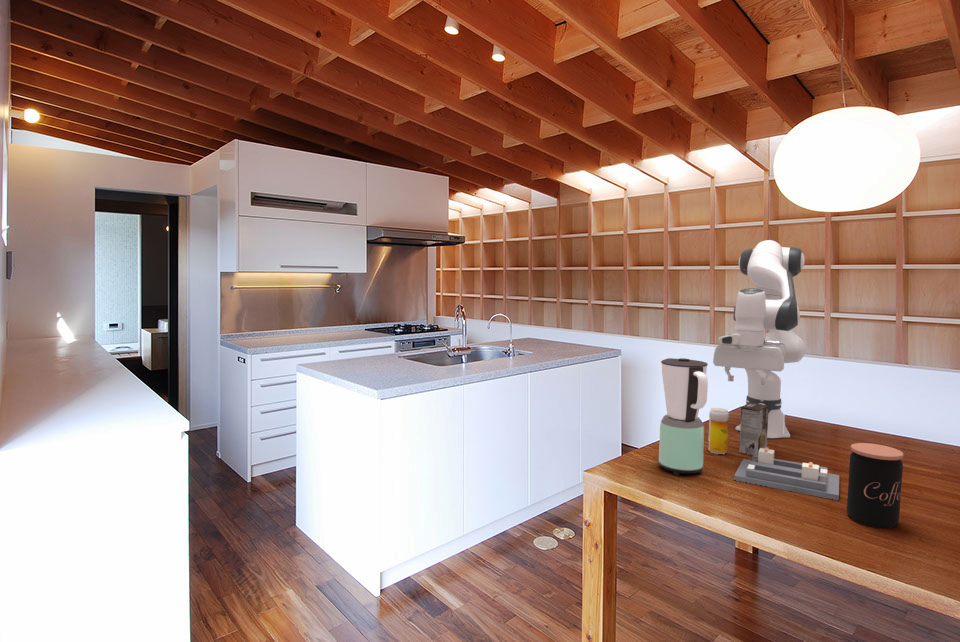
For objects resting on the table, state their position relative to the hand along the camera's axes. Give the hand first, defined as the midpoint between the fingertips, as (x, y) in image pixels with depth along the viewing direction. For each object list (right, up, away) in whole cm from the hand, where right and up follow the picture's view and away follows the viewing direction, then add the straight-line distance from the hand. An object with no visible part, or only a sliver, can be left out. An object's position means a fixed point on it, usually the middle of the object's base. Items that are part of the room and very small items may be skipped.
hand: (746, 382), depth 172 cm
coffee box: (+10, -26, +15) cm, 32 cm away
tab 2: (+9, -27, -18) cm, 33 cm away
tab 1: (+4, -25, -5) cm, 26 cm away
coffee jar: (+13, -30, -37) cm, 50 cm away
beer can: (-3, -26, +14) cm, 30 cm away
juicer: (-22, -27, -3) cm, 35 cm away
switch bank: (+6, -28, -11) cm, 31 cm away
